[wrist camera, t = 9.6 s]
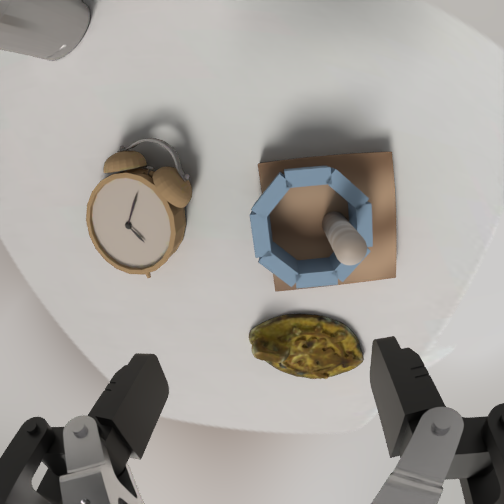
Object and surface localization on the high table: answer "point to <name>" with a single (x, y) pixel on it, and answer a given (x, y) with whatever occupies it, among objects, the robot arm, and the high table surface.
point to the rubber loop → (309, 269)
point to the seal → (306, 345)
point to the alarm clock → (138, 211)
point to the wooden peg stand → (336, 216)
